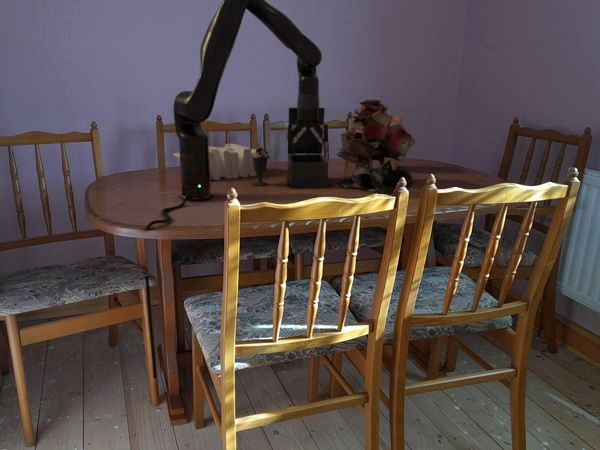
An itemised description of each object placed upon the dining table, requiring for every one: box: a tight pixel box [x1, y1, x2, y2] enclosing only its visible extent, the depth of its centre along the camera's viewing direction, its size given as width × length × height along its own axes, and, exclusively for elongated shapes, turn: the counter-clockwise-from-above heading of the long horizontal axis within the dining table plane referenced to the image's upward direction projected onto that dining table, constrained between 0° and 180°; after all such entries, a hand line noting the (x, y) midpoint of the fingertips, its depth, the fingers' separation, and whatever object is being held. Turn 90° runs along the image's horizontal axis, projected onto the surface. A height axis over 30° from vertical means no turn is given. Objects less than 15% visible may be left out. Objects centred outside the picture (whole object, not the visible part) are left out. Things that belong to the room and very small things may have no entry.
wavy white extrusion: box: [173, 143, 259, 182], centre depth 205 cm, size 35×16×11 cm, turn 119°
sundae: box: [251, 142, 270, 187], centre depth 190 cm, size 7×7×15 cm
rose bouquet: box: [336, 98, 416, 195], centre depth 190 cm, size 26×29×30 cm
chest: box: [287, 153, 329, 189], centre depth 194 cm, size 17×13×9 cm
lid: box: [287, 107, 326, 155], centre depth 198 cm, size 18×13×5 cm
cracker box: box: [384, 116, 403, 170], centre depth 217 cm, size 14×6×21 cm, turn 165°
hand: (307, 153), depth 189 cm, fingers open, 8 cm apart
